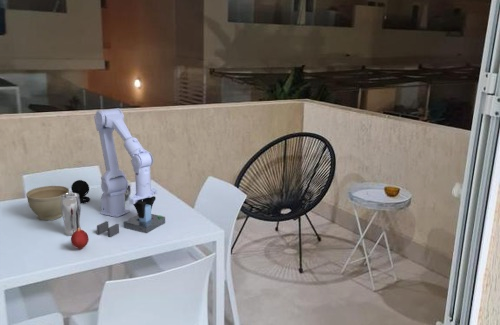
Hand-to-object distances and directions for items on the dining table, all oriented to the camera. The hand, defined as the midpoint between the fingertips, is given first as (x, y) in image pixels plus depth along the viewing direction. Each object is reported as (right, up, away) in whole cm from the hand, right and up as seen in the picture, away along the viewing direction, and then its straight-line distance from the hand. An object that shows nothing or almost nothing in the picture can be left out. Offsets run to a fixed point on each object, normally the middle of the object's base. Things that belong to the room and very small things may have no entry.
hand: (144, 215), depth 187 cm
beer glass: (-26, -6, -7) cm, 27 cm away
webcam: (-35, +3, +27) cm, 44 cm away
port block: (0, -4, +1) cm, 4 cm away
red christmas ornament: (-18, -9, -21) cm, 29 cm away
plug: (0, -3, +1) cm, 3 cm away
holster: (-12, -6, -7) cm, 15 cm away
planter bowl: (-41, -1, +8) cm, 42 cm away
